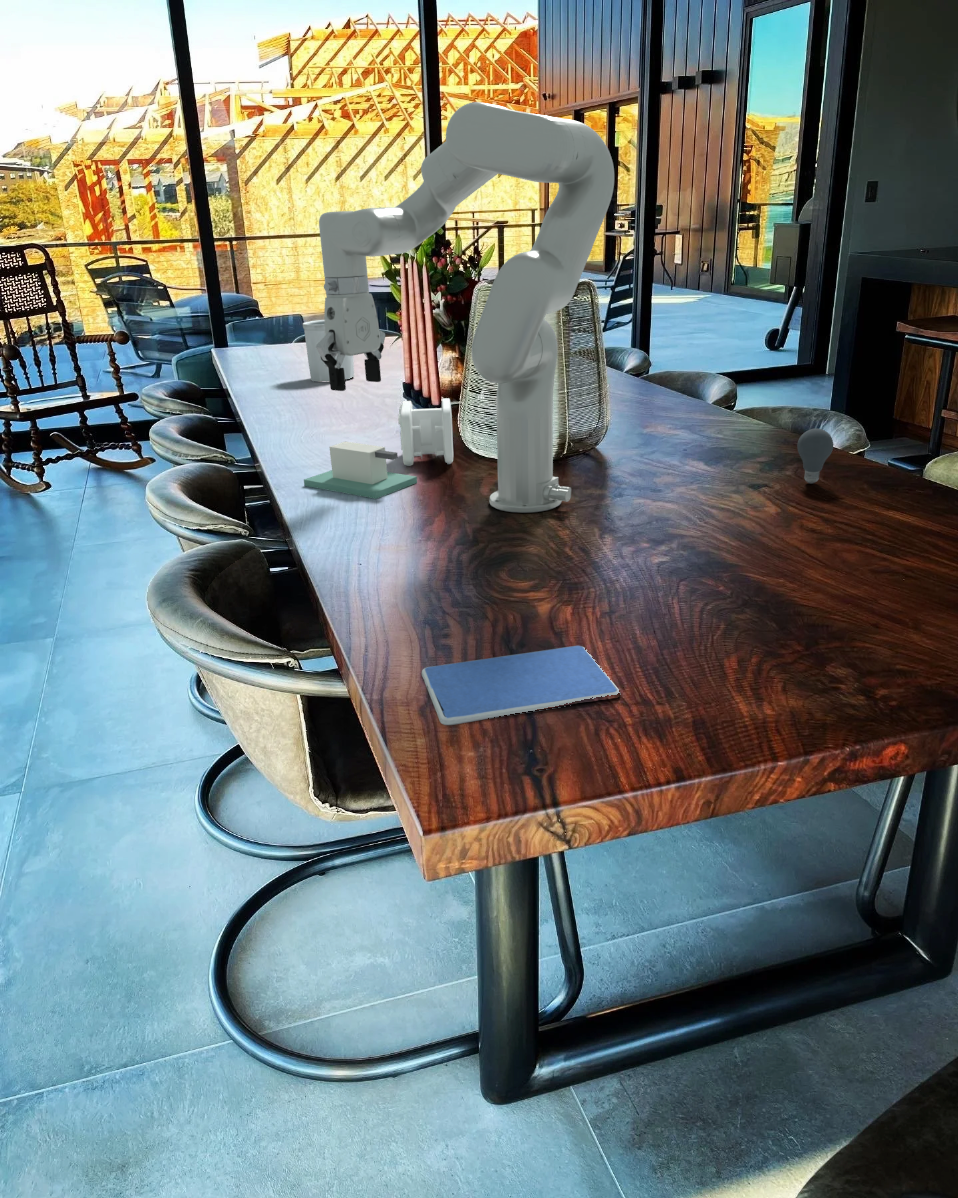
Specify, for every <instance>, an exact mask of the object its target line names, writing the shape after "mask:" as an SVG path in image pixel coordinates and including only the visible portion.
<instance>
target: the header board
mask: <svg viewBox="0 0 958 1198" xmlns="http://www.w3.org/2000/svg"><path fill="white" fill-rule="evenodd" d="M387 476H388V478H387V479H385V480H382V481H380V482H377V483H375V484H367V483H362V482H356V481H350V480H344V479H339V478H333V474H332V469H331V470H328V471H326V472H322V473H320V474H317V475H314V476H311V477H308V478H304V479H303V485H304V486H305V487H310V488H314V489H315V488H316V489H321V490H324V491H332V492H337V493H341V492H342V493H343V494H348V495H354V496H358V497H364V498H370V499H375V500H377V499H379V498H382V497H385V496H387V495H390V494H392V493H395V492H397V491H400V490H403V489H405V488H408V487H410V486H412V485H415V484H417V483H418V476H415V475H407V474H401V473H398V472H397V473H395V472H391V471H387Z"/></svg>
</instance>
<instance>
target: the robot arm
mask: <svg viewBox="0 0 958 1198" xmlns="http://www.w3.org/2000/svg"><path fill="white" fill-rule="evenodd" d="M445 131H446V132H445V142H443V143H442V144H440V146H438V147H437V148H436V149H434V150H433V151H432V152H431V153H430V154H428V155H427V156H426V157H425V158H424V159H423V160H422V163H421V167H420V171H421V177H422V180H423V181H422V183H421V185H420V186H419V187H418V188H417V189H416V190H415V191H414V192H412V194H410V196H408V197H406V198H405V199H404V200H403V201H401V203H399V204H397V205H396V206H395V207H389V206H388V207H386V206H385V207H370V208H369V207H367V208H362V209H358V210H355V211H354V210H347V211H346V210H345V211H342V210H341V211H340V210H338V211H329V212H324V213H322V214H321V215H320V217H319V219H318V228H319V229H318V230H319V238H320V245H321V254H322V255H321V256H322V257H321V258H322V265H323V273H324V274H323V275H324V276H323V277H324V284H323V288H324V291H325V296H326V297H325V300H324V314H323V315H324V319H323V320H324V321H325V337H324V338H323V339H322V340H321V341H320V342H319V343H318V344H317V345H316V348H317V350H318V352H319V354H320V356H321V360H322V361H323V362H324V363H325V366H326V368H328V369H329V379H330V382H329V386H330V387H329V388H330V390H331V391H335V392H336V391H338V392H344V391H346V389H347V387H346V381H345V374H344V368H340V367H341V365H342V363H343V360H344V358H345V355H347V356H353V357H354V356H357V355H362V354H364V356H365V359H364V372H365V380H366V381H367V382H371V383H372V382H373V383H380V382H381V381H382V378H381V377H382V375H381V374H382V373H381V365H380V364H381V362H380V360H382V357H383V355H382V353H383V350H384V348H385V347H384V344H385V340H386V333H385V332H384V331H382V330H381V329H380V327H379V319H378V313H377V309H376V305H375V301H374V298H373V295H372V293H370V289H369V278H368V277H369V276H368V267H367V266H368V263H367V257H382V256H383V257H385V256H388V255H389V256H391V255H400V254H405V253H408V252H409V251H411V250H414V249H415V248H417V247H418V246H419V245H421V244H422V243H423V242H425V241H426V240H427V239H428V238H429V237H431V236H432V235H434V234H435V233H436V232H437V231H439V230H440V229H441V228H442V227H443V226H444V225H445V224H446V223H447V221H448V220H449V219H450V217H451V216H452V214H453V213H454V211H455V209H456V207H458V205H459V204H461V203H462V202H463V201H465V200H466V199H468V197H470V196H471V195H473V194H474V193H475V192H477V190H479V189H480V188H481V187H483V186H484V185H485V184H486V183H488V182H489V181H490V180H493V178H494V177H496V176H497V175H503V176H506V177H511V178H515V179H522V180H524V181H530V182H535V183H544V184H549V183H550V184H551V183H552V184H558V190H557V193H556V195H555V197H554V198H553V200H552V202H551V204H550V205H549V207H548V209H547V211H546V213H545V215H544V217H543V220H542V222H541V226H540V229H539V232H538V234H537V236H536V239H535V241H534V243H533V245H532V247H531V249H530V250H529V251H523V252H520V253H518V254H515V255H513V256H512V257H510V258H509V259H507V260H506V261H505V263H504V264H503V265H502V266H501V268H500V269H499V270H498V272H497V273H496V276H495V278H494V279H493V282H492V285H491V287H490V291H489V293H488V296H487V299H486V302H485V304H484V308H483V309H482V313H481V316H480V318H479V321H478V324H477V326H476V329H475V332H474V335H473V340H472V342H471V343H472V344H471V359H472V363H473V366H474V369H475V370H476V372H477V374H479V375H480V377H482V378H483V379H484V380H486V381H487V382H491V383H494V384H497V390H496V401H495V402H496V408H495V409H496V442H497V443H496V448H497V449H496V450H497V451H496V453H497V490H496V491H494V492H492V493H491V494H490V496H489V504H490V506H491V507H493V508H495V509H497V510H499V511H504V512H510V513H523V514H527V513H538V512H539V513H540V512H544V511H549V510H553V509H555V508H556V507H559V506H560V505H561V504H562V502H569V501H570V500H571V498H572V487H571V486H570V487H569V486H563V485H562V486H560V484H559V477H558V476H554V475H553V474H554V473H553V472H554V471H553V470H554V463H553V462H554V461H553V460H554V459H553V458H554V455H553V454H554V453H553V451H554V447H553V446H554V437H553V436H554V435H553V434H554V431H553V429H554V428H553V427H554V425H553V423H554V422H553V421H554V385H555V376H556V368H557V359H558V340H557V336H556V333H555V330H554V329H553V327H552V325H551V324H550V323H549V322H548V321H547V319H545V317H546V315H548V314H552V313H555V312H558V311H560V310H562V309H563V308H565V307H566V306H568V305H569V303H570V302H571V301H572V299H573V297H574V294H575V292H576V290H577V287H578V284H579V281H580V279H581V277H582V274H583V272H584V269H585V267H586V264H587V262H588V260H589V257H590V254H591V252H592V249H593V246H594V243H595V242H596V238H597V236H598V234H599V231H600V229H601V227H602V224H603V222H604V219H605V217H606V215H607V212H608V209H609V206H610V204H611V200H612V197H613V193H614V186H615V168H614V162H613V159H612V156H611V153H610V150H609V148H608V146H607V145H606V143H605V141H604V140H603V139H602V137H601V136H600V134H599V133H598V132H596V131H595V130H594V129H593V128H591V127H590V126H589V125H587V124H585V123H583V122H580V121H577V120H574V119H569V118H561V117H554V116H549V115H543V114H538V113H537V114H536V113H529V112H525V111H520V110H519V111H518V110H513V109H509V108H507V107H505V106H501V105H499V104H491V103H485V102H480V101H474V102H469V103H466V104H464V105H462V106H460V107H458V109H457V110H456V111H454V113H453V114H452V115H451V117H450V119H449V120H448V124H447V126H446V129H445ZM336 356H337V359H336V360H335V357H336Z"/></svg>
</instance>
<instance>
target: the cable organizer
mask: <svg viewBox="0 0 958 1198" xmlns="http://www.w3.org/2000/svg"><path fill="white" fill-rule="evenodd" d="M398 412H399V413H398V415H397V417H398V419H397V420H398V425H399V426H400V427H399V428H400V432H399V433H400V447H401V448H400V449H401V451H402V462H403V465H404V466H407V467H411V466H413V465H414V460H415V457H421V458H423V455H435V456H436V457H435V458H436V459H438V458H437V456H443V457H444V462H445V463H447V465H451V464H452V463H453V461H454V441H453V440H454V439H453V437H454V436H453V418H452V417H453V415H452V405H451V399H450V398H449V397H448V398H447V397H446V398H444V397H443V398H442V400H441V407H440V408H437V407H435V408H414V409H413V402H412V401H411V400H403V401H402V402H401V404H399V409H398Z"/></svg>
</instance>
